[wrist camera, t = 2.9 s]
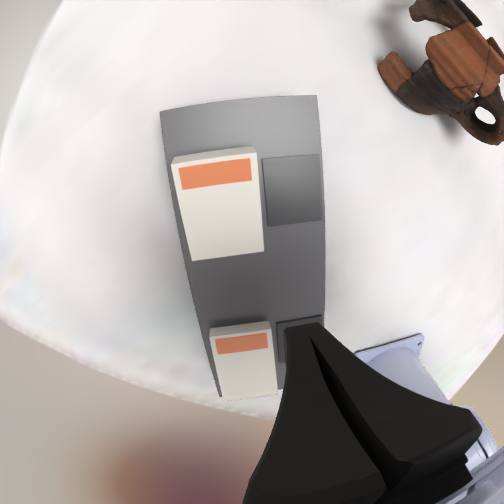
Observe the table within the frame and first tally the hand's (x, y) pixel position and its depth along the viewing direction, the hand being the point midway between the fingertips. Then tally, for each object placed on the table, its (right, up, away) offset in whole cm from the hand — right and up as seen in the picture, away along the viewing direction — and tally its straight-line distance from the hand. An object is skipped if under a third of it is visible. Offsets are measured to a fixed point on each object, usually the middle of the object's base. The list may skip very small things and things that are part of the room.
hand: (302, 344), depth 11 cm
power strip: (-2, +3, +9) cm, 10 cm away
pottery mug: (+11, +17, +5) cm, 21 cm away
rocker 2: (-2, -3, +7) cm, 8 cm away
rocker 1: (-3, +6, +3) cm, 7 cm away
